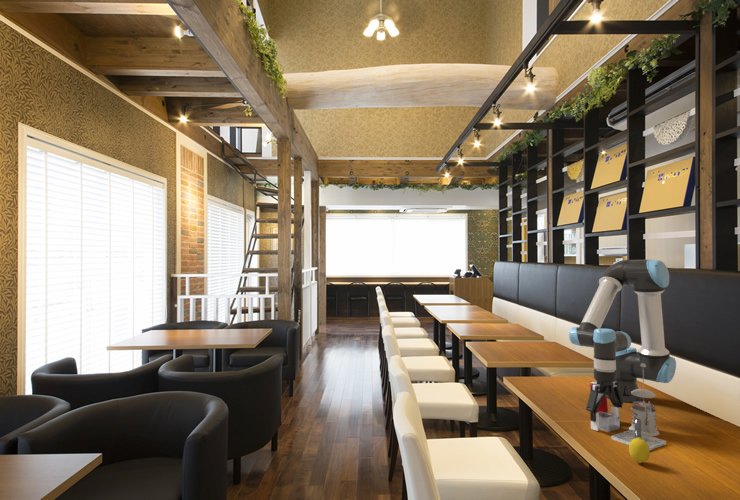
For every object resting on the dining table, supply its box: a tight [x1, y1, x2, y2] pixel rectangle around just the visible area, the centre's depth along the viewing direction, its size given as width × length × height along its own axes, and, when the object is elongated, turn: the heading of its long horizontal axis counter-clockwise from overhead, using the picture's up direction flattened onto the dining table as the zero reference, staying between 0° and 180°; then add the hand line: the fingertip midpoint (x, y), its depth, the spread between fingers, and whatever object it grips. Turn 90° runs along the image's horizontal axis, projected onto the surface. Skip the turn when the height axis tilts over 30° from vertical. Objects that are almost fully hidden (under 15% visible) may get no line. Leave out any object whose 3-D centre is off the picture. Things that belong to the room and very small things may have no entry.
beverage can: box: [589, 380, 609, 413], centre depth 176 cm, size 6×6×15 cm
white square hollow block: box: [597, 411, 621, 433], centre depth 168 cm, size 7×7×4 cm
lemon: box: [628, 437, 651, 464], centre depth 137 cm, size 6×6×8 cm
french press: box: [628, 363, 660, 437], centre depth 164 cm, size 10×12×25 cm
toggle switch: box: [610, 419, 667, 451], centre depth 154 cm, size 12×12×8 cm
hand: (605, 426), depth 168 cm, fingers open, 12 cm apart
